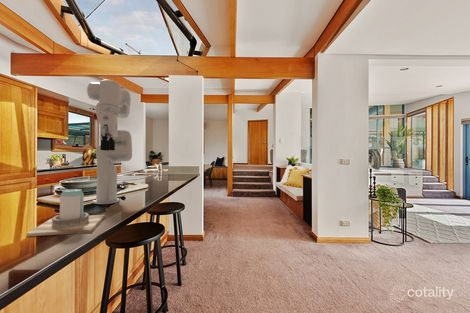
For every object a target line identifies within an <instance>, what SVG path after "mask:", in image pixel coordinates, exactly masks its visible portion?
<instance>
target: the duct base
mask: <svg viewBox="0 0 470 313" xmlns="http://www.w3.org/2000/svg"><path fill="white" fill-rule="evenodd" d="M105 217H106V216H105V214H98V215H97V214H96V215H90V214H89V213H88V212H83V217H81V218H77V219H71V220H60V214H57V215H55V216H52V218H50V219H48V220H46V221H45V222H43V223H41V224H40V225H38V226H37V227H35V228H33V229H32V230H30V231H28V232H27V233H26V237H36V236H37V237H39V236H53V235H55V236H56V235H71V234H89V233H92V232H93V231H94V230H95V229H96V228H97V227H98V225H100V223H101V222H102V221H103V220H104V219H105Z"/></svg>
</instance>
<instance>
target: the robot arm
mask: <svg viewBox="0 0 470 313" xmlns="http://www.w3.org/2000/svg"><path fill="white" fill-rule="evenodd" d="M86 88H87V89H86V94H87V96H88V98H89V99H90V100H91V101H92V100H93V101H98V102H97V104H96V105H95V113H96V118H97V121H98V123H99V141H100V143H99V144H98V145H97V146H96V147H95V157H96V167H97V168H96V195H95V196H96V198H95V199H96V200H94V199H93V200H92V203H93V204H95V205H111V204H116V203H118V202H120V198H119V197H117V196H118V195H117V193H118V191H117V190H118V168H117V166H116V165H115V164H114V163H113V162H129V161H131V160H132V158H133V143H132V141H133V140H132V134H131V132H130V131H129V130H125V129H118V118H120V119H126V118H128V117H129V115H130V110H131V108H130V107H131V94H130V92H129V91H128V90H126V89H122V88H121V86H120V84H119V82H118V81H115V80H111V79H102V80H100V81H99V82H93V81H92V82H89V83H88V85H87V87H86Z"/></svg>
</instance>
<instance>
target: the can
mask: <svg viewBox="0 0 470 313" xmlns="http://www.w3.org/2000/svg"><path fill="white" fill-rule="evenodd" d="M84 196H85V193H84V192H83V189H82V188H69V189H63V190H62V192H61V194H59V215H60V220H71V219H77V218H81V217H83V213H84V204H85V203H84V201H85V200H84V198H85V197H84Z"/></svg>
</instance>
